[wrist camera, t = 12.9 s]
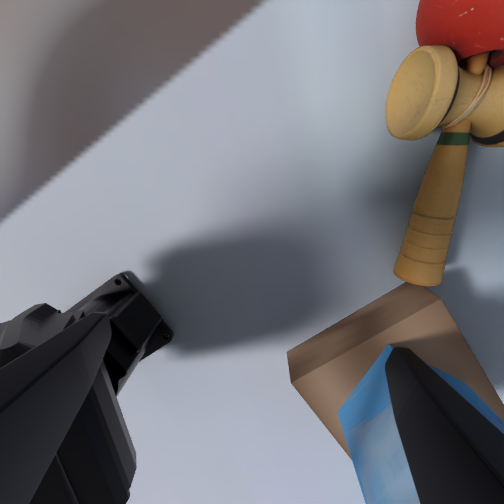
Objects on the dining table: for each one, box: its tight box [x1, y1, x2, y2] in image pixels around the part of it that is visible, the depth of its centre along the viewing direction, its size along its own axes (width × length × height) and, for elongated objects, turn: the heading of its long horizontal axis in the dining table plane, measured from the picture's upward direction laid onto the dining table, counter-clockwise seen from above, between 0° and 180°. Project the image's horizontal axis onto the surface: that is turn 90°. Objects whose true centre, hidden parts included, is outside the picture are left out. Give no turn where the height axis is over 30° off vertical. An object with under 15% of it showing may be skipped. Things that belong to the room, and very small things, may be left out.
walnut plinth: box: [287, 282, 504, 460], centre depth 22 cm, size 11×11×4 cm
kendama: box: [386, 0, 504, 286], centre depth 17 cm, size 8×6×18 cm
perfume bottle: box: [337, 344, 504, 504], centre depth 14 cm, size 6×6×12 cm
